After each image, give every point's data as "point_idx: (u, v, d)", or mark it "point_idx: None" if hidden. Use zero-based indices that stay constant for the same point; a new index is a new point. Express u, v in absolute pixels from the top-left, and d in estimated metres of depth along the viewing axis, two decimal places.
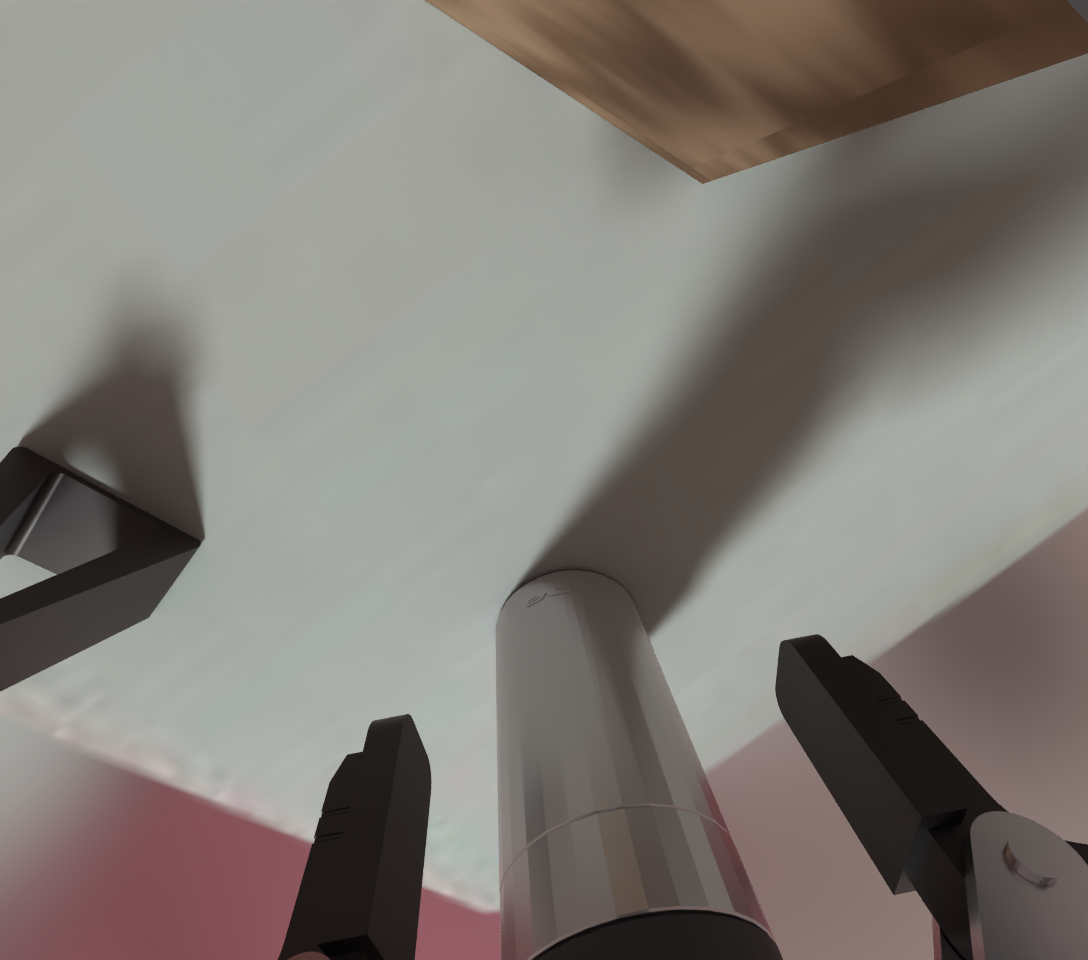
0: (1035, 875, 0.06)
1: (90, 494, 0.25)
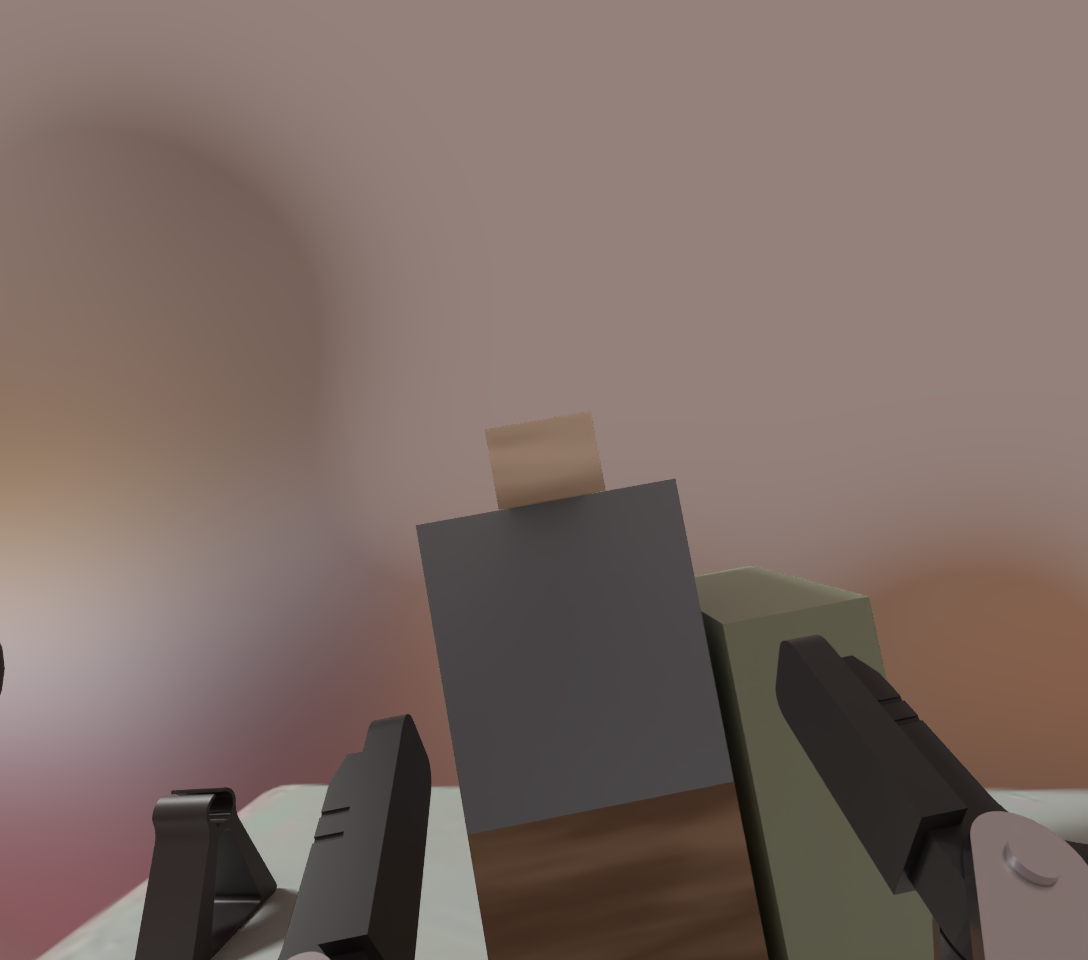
0: (1035, 876, 0.06)
1: (243, 916, 0.44)
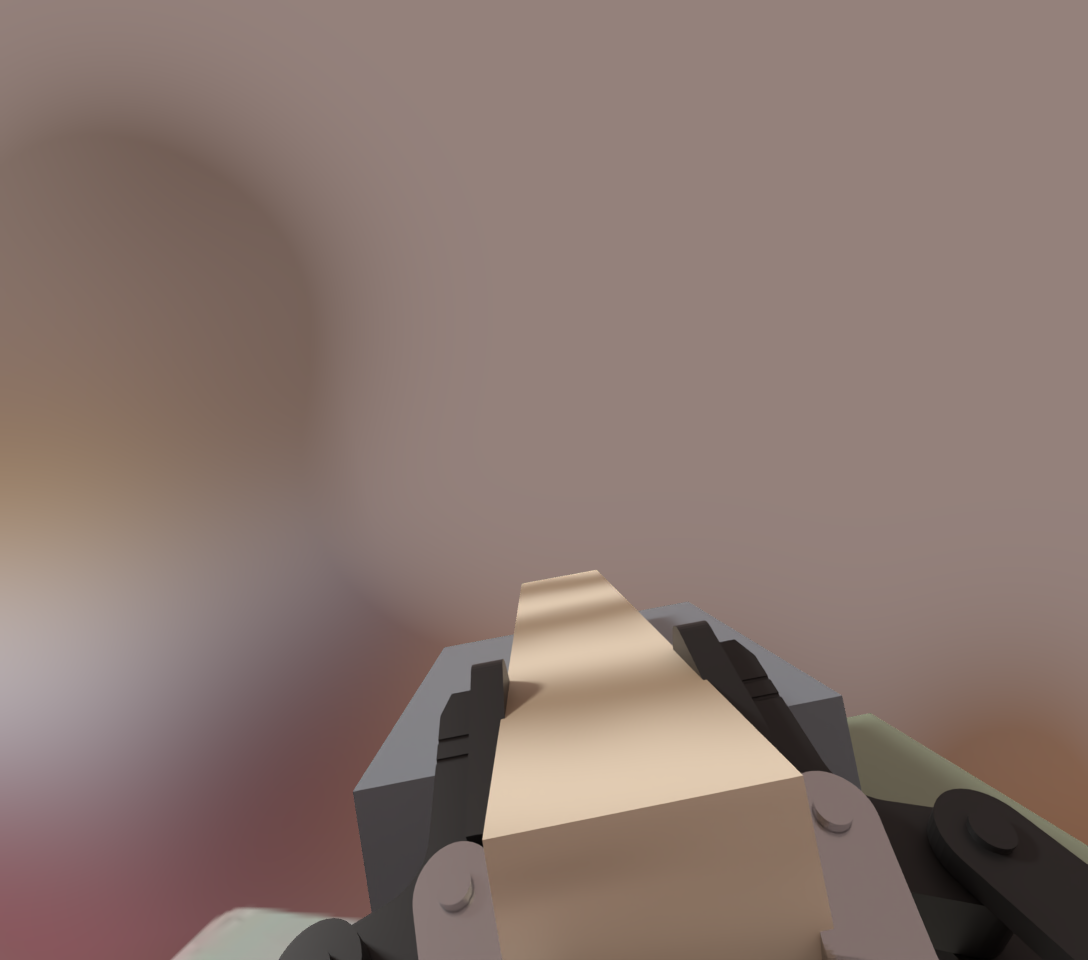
0: (838, 826, 0.07)
1: None
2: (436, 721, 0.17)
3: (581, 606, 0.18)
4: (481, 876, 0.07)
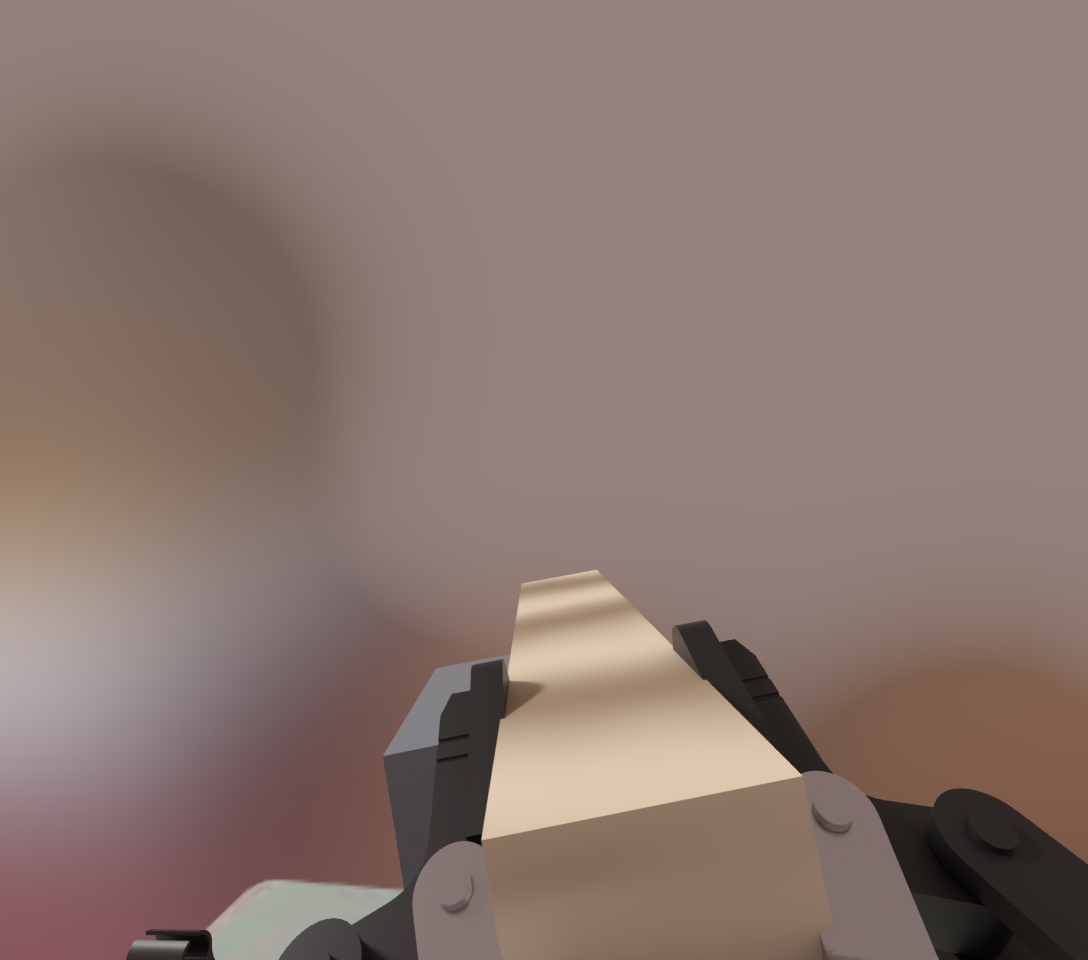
0: (837, 826, 0.07)
1: None
2: (429, 719, 0.29)
3: (581, 606, 0.18)
4: (481, 876, 0.07)
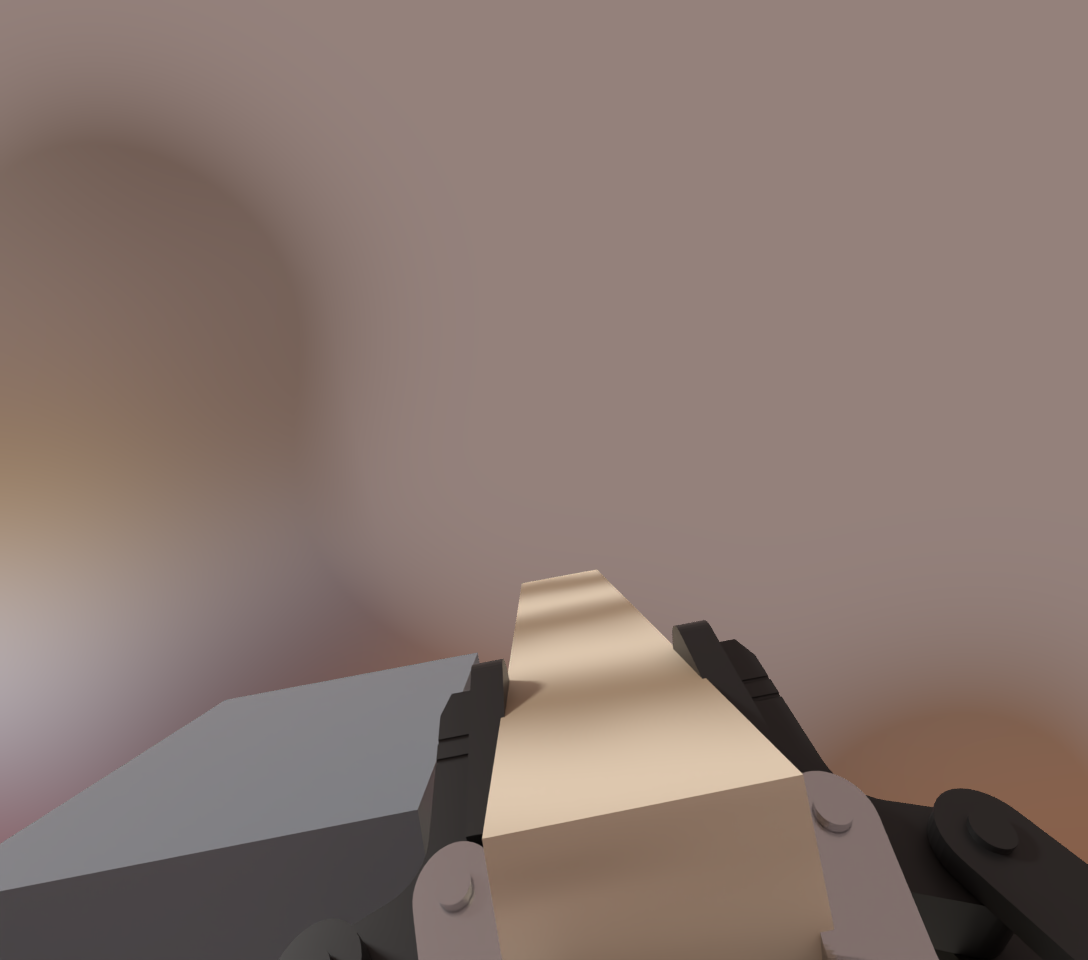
0: (838, 826, 0.07)
1: None
2: (83, 811, 0.17)
3: (581, 606, 0.18)
4: (481, 876, 0.07)
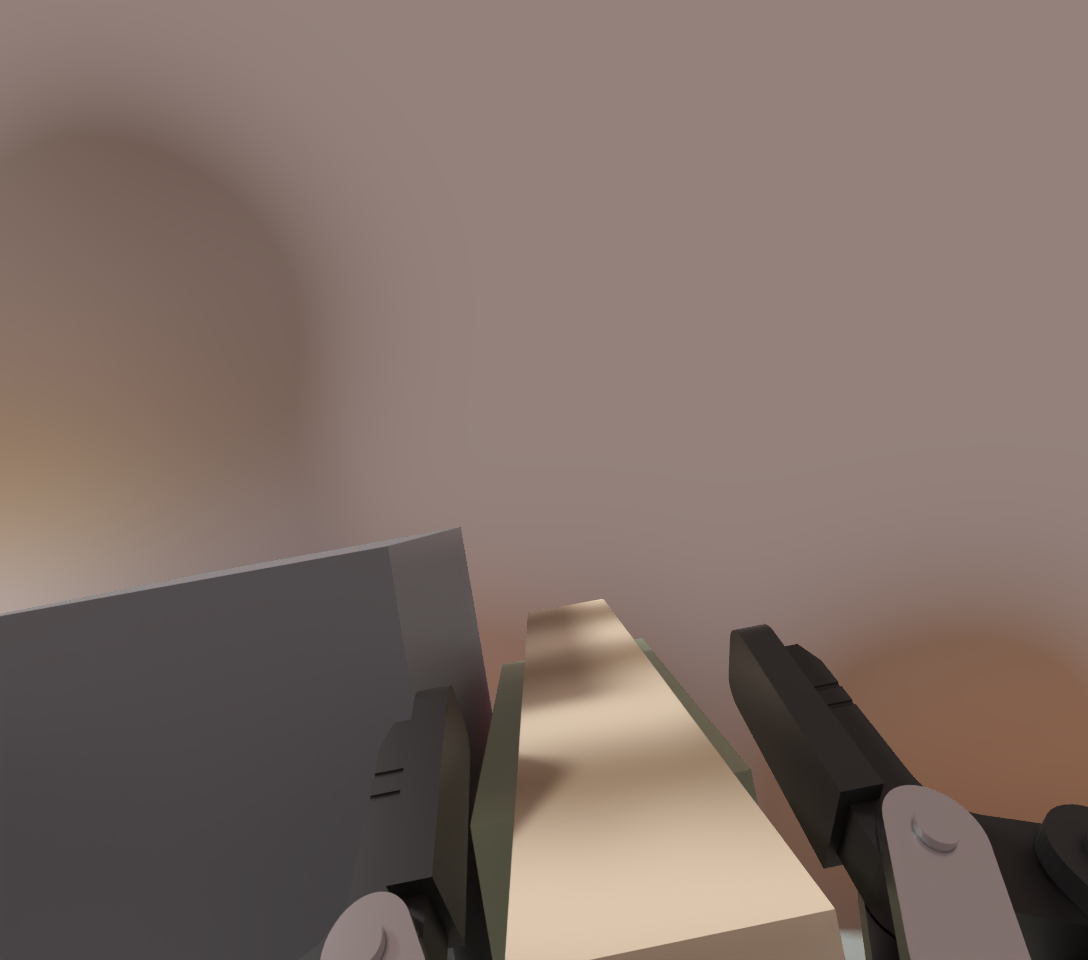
0: (939, 844, 0.06)
1: None
2: None
3: (590, 649, 0.18)
4: (395, 933, 0.07)
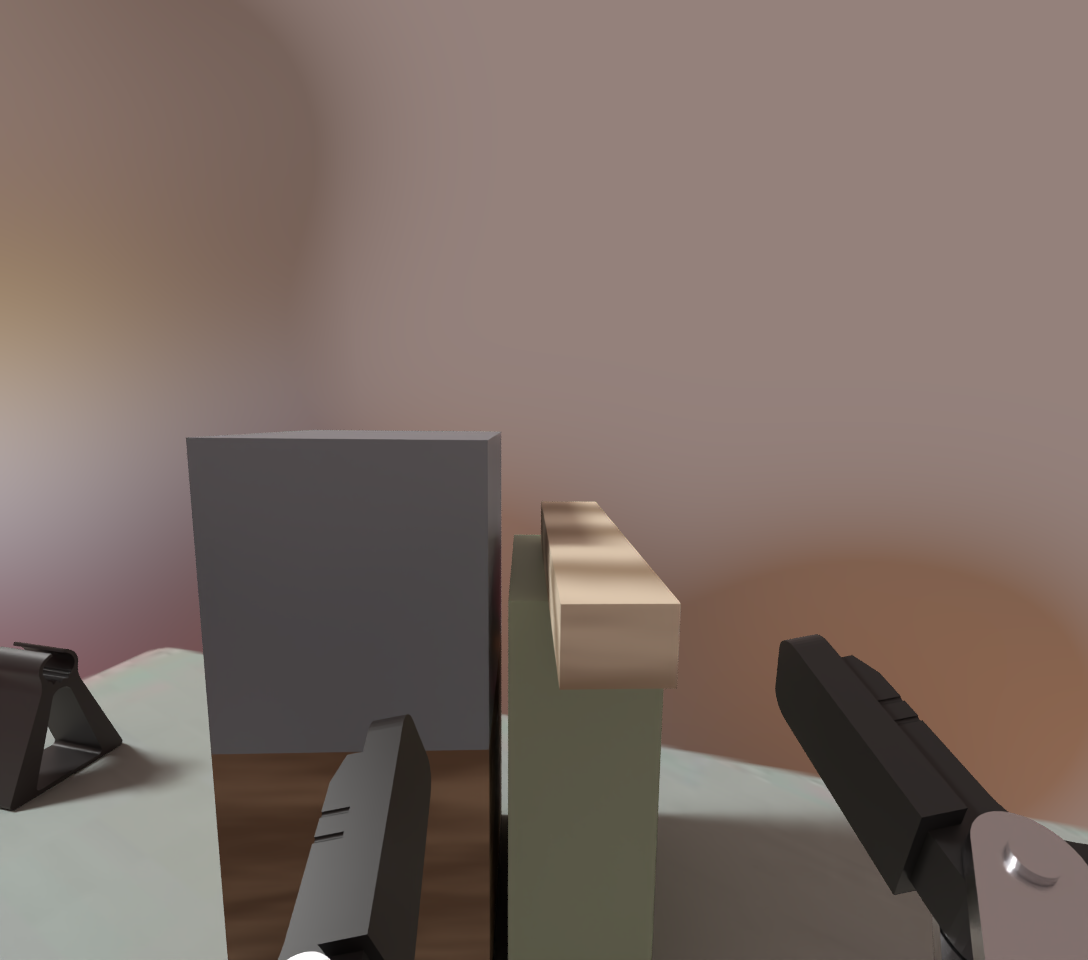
0: (1035, 876, 0.06)
1: (80, 763, 0.46)
2: None
3: (587, 525, 0.28)
4: None
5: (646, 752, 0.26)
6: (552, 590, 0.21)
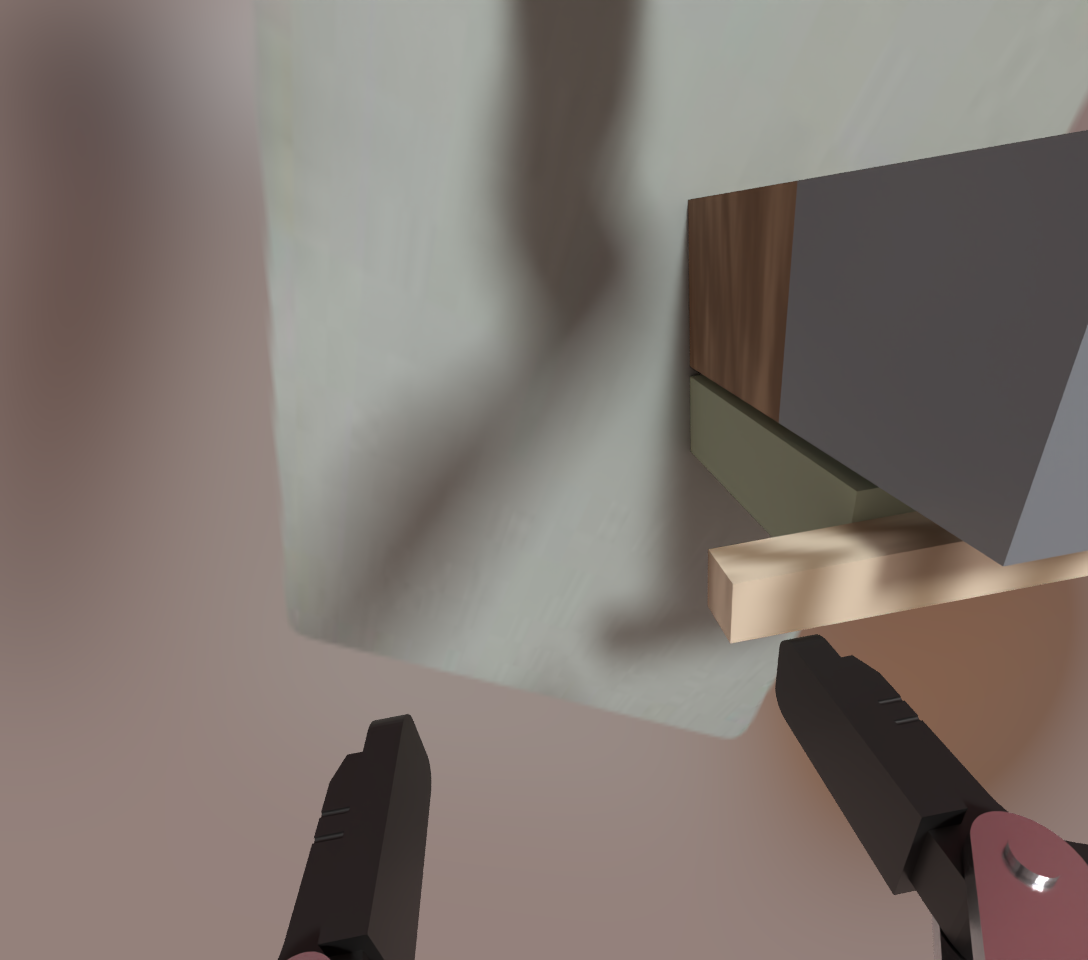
0: (1035, 876, 0.06)
1: None
2: None
3: (951, 579, 0.26)
4: None
5: (768, 524, 0.37)
6: (810, 552, 0.25)
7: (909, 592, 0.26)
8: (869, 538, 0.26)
